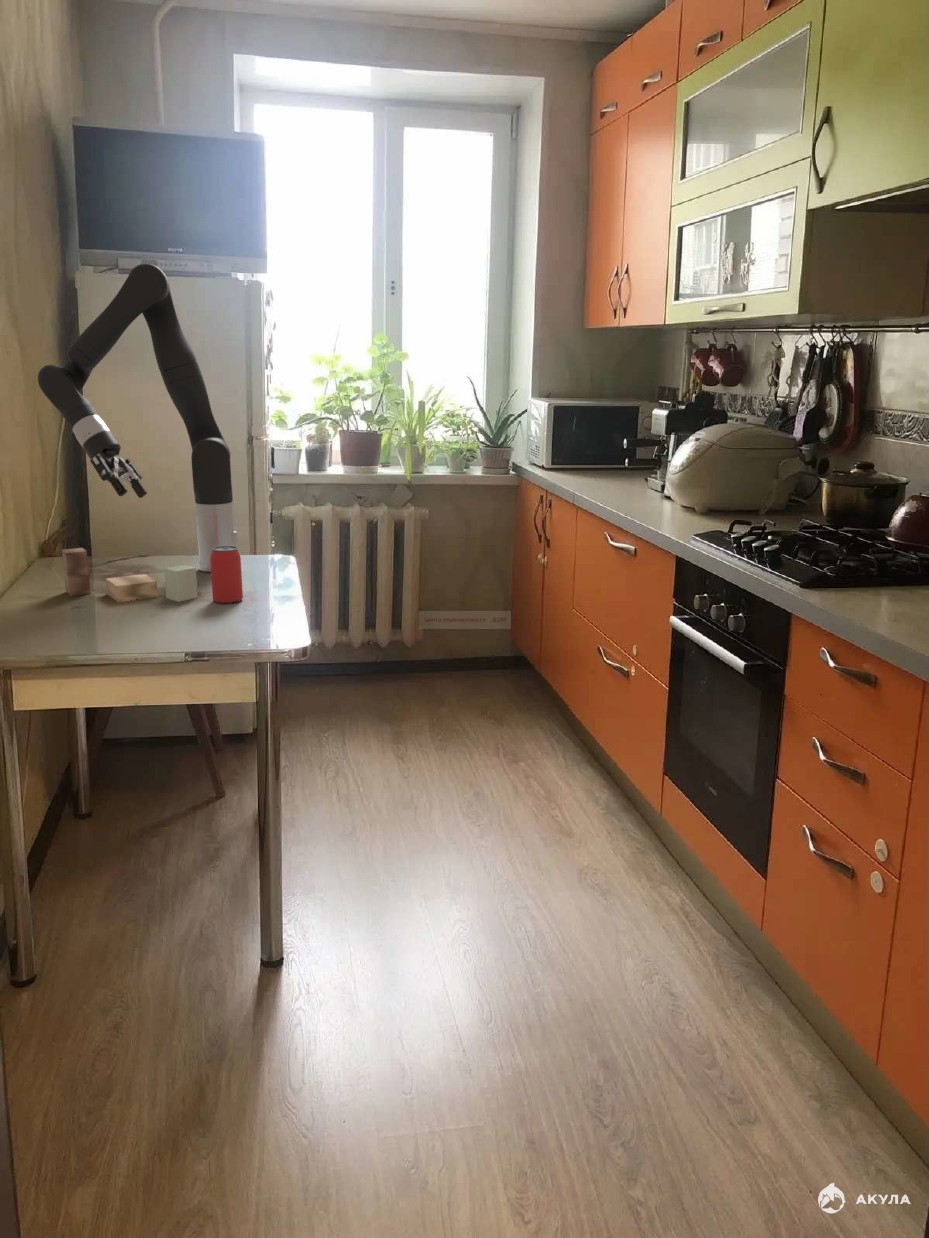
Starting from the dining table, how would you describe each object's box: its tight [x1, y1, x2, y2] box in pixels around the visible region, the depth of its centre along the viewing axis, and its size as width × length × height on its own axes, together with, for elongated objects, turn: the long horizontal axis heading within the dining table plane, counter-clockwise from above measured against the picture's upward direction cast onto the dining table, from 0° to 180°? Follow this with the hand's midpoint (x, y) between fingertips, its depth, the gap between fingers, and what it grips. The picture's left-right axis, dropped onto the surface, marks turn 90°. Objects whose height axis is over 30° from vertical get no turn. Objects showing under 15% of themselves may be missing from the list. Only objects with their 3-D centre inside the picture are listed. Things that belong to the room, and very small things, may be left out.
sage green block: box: [163, 564, 198, 603], centre depth 227 cm, size 5×5×7 cm
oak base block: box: [105, 573, 159, 603], centre depth 229 cm, size 9×9×4 cm
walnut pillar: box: [61, 547, 91, 597], centre depth 231 cm, size 4×4×10 cm
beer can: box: [210, 546, 244, 604], centre depth 224 cm, size 7×7×12 cm
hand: (134, 495), depth 235 cm, fingers open, 8 cm apart
